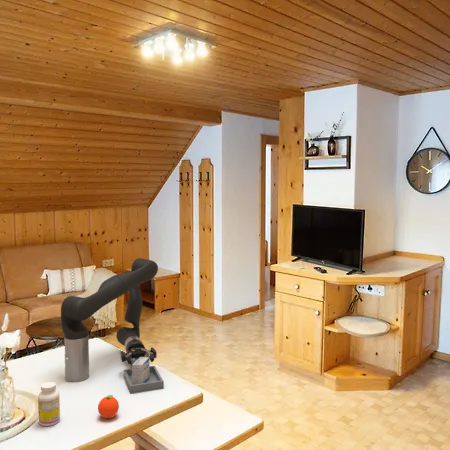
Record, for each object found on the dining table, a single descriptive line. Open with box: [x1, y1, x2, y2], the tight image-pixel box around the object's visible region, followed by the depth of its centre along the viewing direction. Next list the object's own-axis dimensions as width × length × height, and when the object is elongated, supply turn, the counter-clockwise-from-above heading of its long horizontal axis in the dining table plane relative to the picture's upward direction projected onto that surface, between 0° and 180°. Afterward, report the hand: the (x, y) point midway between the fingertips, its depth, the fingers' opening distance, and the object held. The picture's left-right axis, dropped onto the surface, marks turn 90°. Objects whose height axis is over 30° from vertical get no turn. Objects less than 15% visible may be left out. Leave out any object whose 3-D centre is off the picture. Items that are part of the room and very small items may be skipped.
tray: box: [123, 365, 165, 394], centre depth 186 cm, size 13×16×3 cm
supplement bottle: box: [37, 381, 61, 427], centre depth 156 cm, size 7×7×13 cm
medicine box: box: [131, 357, 150, 385], centre depth 185 cm, size 8×4×9 cm, turn 170°
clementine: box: [97, 394, 120, 419], centre depth 160 cm, size 8×7×7 cm
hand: (141, 361), depth 188 cm, fingers open, 8 cm apart
